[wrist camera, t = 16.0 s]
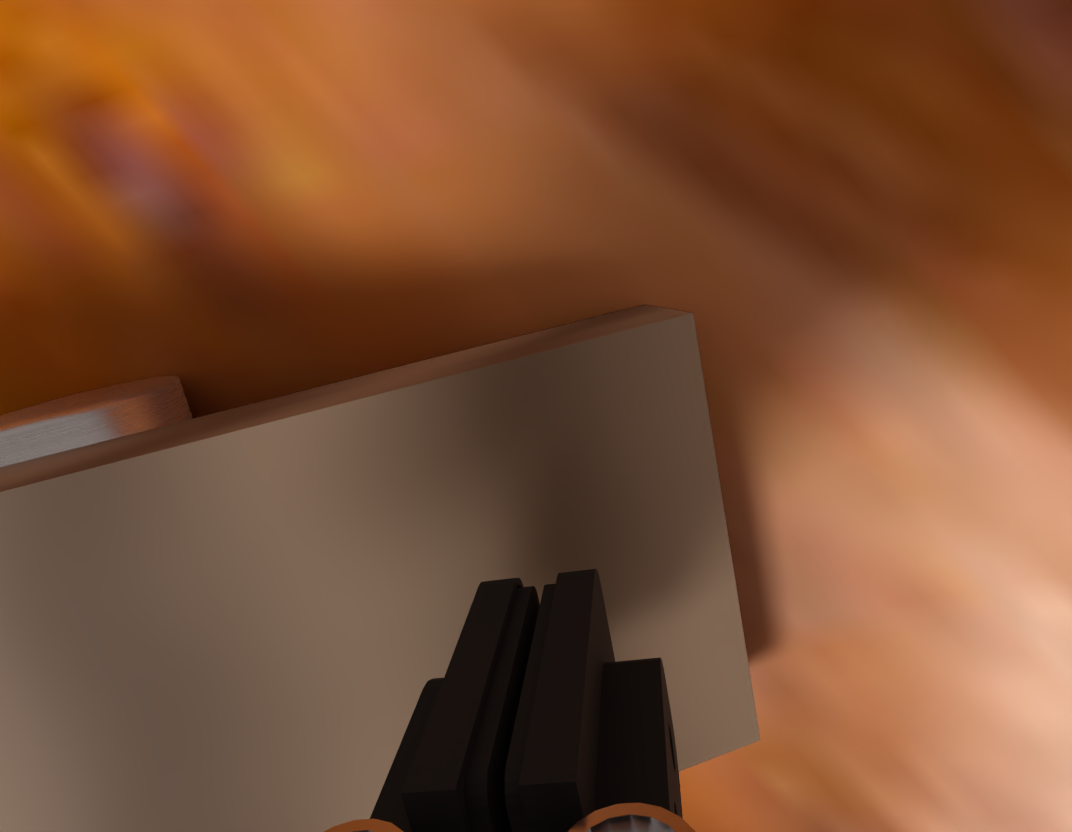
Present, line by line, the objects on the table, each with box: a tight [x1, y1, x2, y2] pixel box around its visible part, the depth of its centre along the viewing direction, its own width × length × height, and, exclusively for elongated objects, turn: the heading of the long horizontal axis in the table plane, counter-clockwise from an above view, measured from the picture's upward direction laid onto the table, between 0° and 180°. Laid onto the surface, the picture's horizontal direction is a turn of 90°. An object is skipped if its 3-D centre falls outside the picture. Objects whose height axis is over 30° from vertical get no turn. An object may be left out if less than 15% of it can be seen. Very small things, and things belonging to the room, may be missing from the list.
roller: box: [0, 376, 193, 467], centre depth 15 cm, size 9×4×4 cm
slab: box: [0, 305, 760, 832], centre depth 12 cm, size 18×8×2 cm, turn 102°
